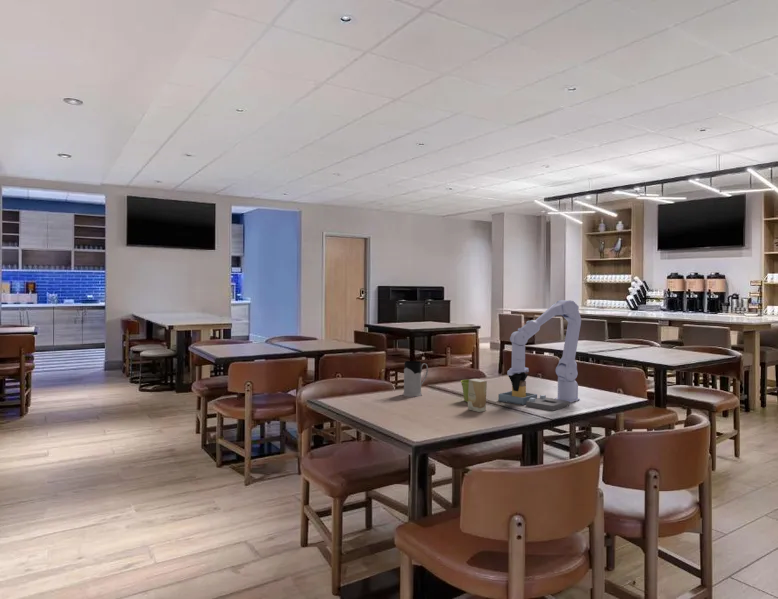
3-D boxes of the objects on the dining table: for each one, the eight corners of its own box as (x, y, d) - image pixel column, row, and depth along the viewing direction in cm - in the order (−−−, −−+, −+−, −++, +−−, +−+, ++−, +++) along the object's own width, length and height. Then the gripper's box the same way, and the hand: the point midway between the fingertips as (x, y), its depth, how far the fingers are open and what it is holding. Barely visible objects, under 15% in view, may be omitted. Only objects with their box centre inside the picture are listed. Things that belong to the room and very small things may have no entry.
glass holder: (398, 394, 251) (399, 361, 250) (420, 390, 260) (420, 359, 260) (412, 397, 244) (412, 363, 244) (434, 393, 254) (434, 361, 253)
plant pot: (472, 404, 230) (472, 383, 230) (455, 400, 238) (456, 380, 238) (486, 401, 236) (486, 381, 236) (470, 398, 244) (470, 378, 243)
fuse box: (542, 401, 238) (542, 394, 238) (568, 405, 229) (568, 398, 229) (526, 406, 228) (526, 398, 228) (552, 410, 219) (552, 402, 219)
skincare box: (467, 409, 220) (467, 379, 220) (474, 408, 223) (474, 378, 223) (479, 412, 215) (479, 381, 215) (486, 410, 218) (487, 380, 218)
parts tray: (512, 397, 247) (513, 390, 247) (537, 401, 238) (537, 394, 238) (498, 400, 238) (498, 394, 238) (522, 405, 230) (523, 398, 230)
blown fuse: (515, 395, 241) (515, 379, 240) (525, 397, 237) (525, 381, 237) (512, 396, 238) (512, 380, 238) (522, 398, 235) (522, 382, 235)
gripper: (518, 356, 246) (518, 386, 246) (501, 359, 235) (500, 391, 236) (533, 358, 241) (532, 389, 241) (515, 361, 230) (515, 393, 231)
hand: (517, 390), depth 238 cm, fingers closed on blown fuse, 3 cm apart
